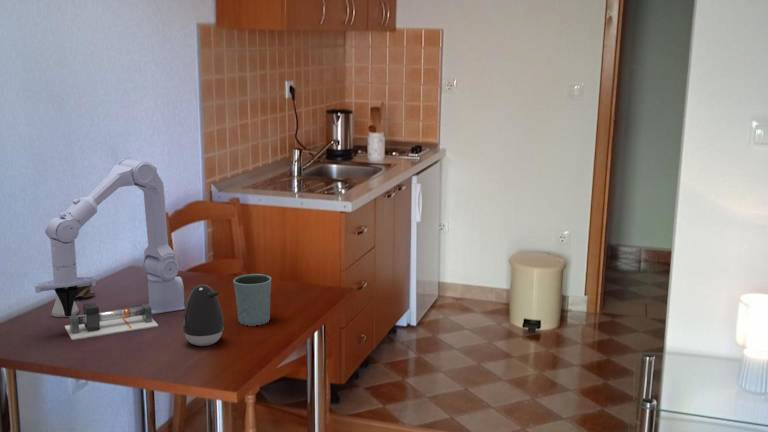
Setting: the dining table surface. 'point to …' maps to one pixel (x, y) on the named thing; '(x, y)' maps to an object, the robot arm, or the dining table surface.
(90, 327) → the dark grey sliding block
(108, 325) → the base board
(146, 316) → the linear slide rail
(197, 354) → the dining table surface
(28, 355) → the dining table surface
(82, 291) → the mushroom
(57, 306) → the flask
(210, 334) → the dark grey penguin toy
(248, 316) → the grey-green cup
